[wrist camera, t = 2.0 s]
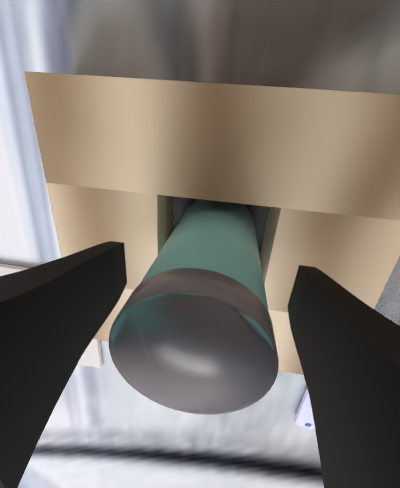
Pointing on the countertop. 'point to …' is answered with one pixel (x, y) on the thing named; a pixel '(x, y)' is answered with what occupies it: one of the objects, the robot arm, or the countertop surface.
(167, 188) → the tan board with hole
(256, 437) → the countertop surface
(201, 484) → the countertop surface
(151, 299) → the plug
